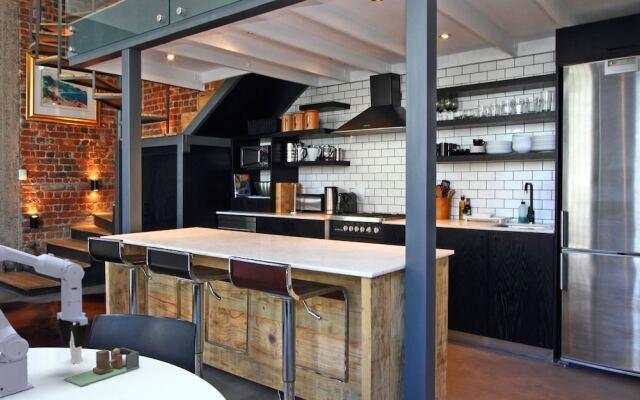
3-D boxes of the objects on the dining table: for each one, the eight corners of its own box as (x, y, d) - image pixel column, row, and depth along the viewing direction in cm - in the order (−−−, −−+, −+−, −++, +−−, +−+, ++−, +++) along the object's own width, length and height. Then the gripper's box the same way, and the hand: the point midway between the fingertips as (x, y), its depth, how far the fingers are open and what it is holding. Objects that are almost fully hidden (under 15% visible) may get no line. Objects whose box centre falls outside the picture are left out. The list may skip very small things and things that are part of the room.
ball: (131, 354, 165) (131, 365, 165) (125, 352, 168) (125, 363, 168) (121, 357, 163) (122, 368, 163) (115, 355, 165) (115, 366, 165)
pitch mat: (81, 387, 148) (81, 385, 148) (63, 380, 154) (63, 378, 154) (138, 368, 164) (138, 366, 164) (120, 362, 170) (120, 361, 170)
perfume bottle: (72, 365, 168) (72, 319, 167) (66, 362, 170) (65, 317, 170) (86, 361, 171) (85, 317, 171) (79, 359, 174) (78, 315, 174)
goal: (127, 371, 161) (126, 355, 161) (111, 366, 166) (110, 350, 166) (139, 367, 165) (138, 352, 164) (122, 362, 170) (122, 347, 170)
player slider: (100, 374, 156) (99, 354, 156) (92, 371, 159) (92, 352, 159) (123, 367, 163) (122, 347, 163) (116, 364, 165) (115, 345, 165)
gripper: (96, 301, 157) (97, 345, 158) (72, 296, 166) (72, 337, 166) (74, 305, 152) (75, 351, 152) (50, 300, 160) (50, 343, 160)
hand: (72, 344), depth 159 cm, fingers open, 7 cm apart
